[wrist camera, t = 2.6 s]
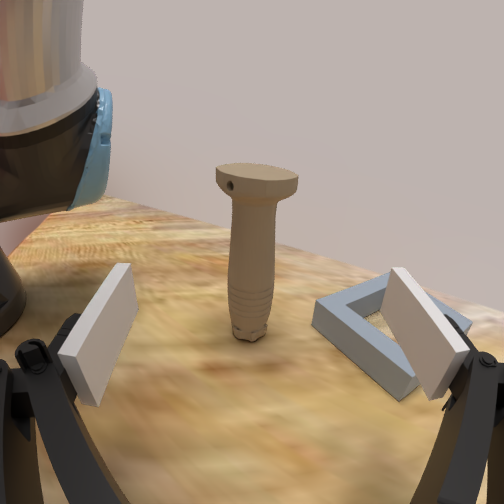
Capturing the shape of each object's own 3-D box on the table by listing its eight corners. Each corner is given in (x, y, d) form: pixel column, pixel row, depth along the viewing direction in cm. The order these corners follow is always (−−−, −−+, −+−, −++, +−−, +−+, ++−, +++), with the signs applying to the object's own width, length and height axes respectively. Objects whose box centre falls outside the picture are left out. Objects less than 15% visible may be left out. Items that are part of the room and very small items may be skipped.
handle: (244, 307, 33) (250, 161, 26) (290, 337, 29) (311, 175, 22) (207, 325, 30) (203, 167, 23) (253, 362, 26) (263, 183, 19)
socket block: (311, 324, 30) (315, 300, 29) (385, 292, 36) (391, 271, 35) (398, 401, 21) (412, 377, 20) (462, 344, 27) (472, 322, 25)
